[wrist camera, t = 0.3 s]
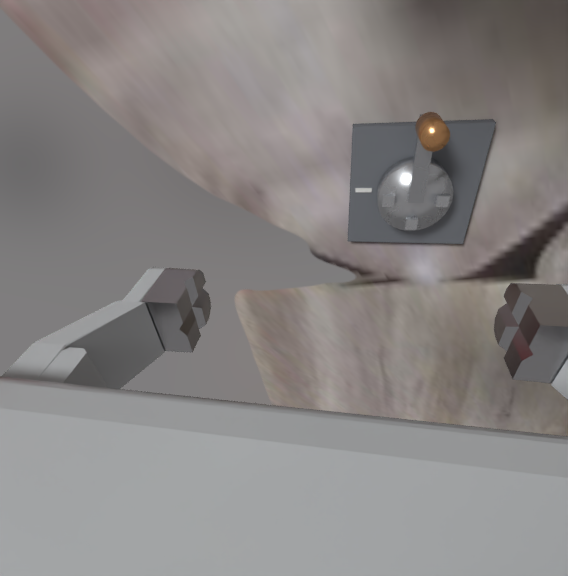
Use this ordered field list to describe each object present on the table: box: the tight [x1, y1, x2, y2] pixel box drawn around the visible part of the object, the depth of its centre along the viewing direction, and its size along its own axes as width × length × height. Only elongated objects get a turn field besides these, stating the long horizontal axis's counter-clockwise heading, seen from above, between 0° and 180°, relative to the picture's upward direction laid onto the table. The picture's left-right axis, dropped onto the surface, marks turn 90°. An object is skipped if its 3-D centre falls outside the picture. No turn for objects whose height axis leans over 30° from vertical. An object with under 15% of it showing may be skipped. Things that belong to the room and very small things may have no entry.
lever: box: [377, 112, 453, 231], centre depth 47 cm, size 16×10×9 cm, turn 4°
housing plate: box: [348, 119, 496, 244], centre depth 53 cm, size 18×18×2 cm
